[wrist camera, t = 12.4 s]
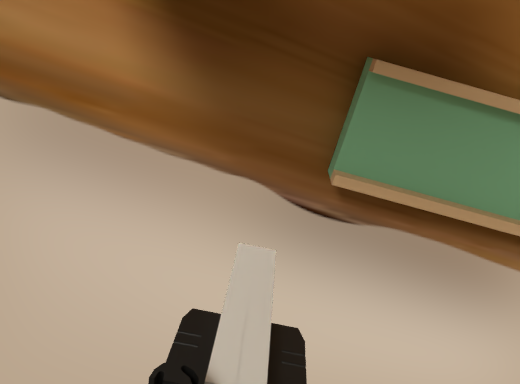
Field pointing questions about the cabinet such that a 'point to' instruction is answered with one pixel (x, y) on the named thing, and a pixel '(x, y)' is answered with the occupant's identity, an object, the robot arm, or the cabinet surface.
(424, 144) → the putting strip
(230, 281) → the robot arm
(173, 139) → the cabinet surface
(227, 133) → the cabinet surface
